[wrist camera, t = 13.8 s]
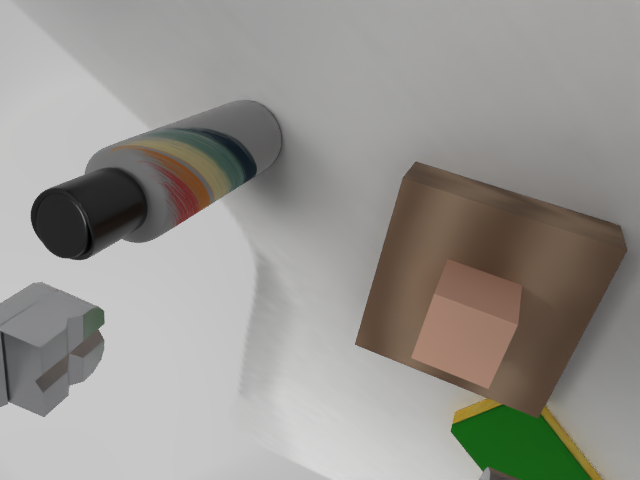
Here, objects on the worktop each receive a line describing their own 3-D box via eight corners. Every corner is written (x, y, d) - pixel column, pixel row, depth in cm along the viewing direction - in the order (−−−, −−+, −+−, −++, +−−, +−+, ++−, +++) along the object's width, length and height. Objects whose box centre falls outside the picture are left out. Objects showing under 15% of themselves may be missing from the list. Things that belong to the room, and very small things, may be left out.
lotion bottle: (223, 169, 46) (27, 276, 29) (214, 98, 43) (-5, 169, 26) (286, 172, 44) (116, 290, 27) (280, 98, 42) (90, 175, 24)
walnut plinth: (369, 318, 46) (354, 344, 43) (415, 161, 40) (402, 178, 36) (539, 384, 43) (538, 418, 40) (620, 225, 36) (627, 250, 33)
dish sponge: (547, 528, 49) (547, 552, 47) (452, 410, 47) (448, 429, 45) (627, 508, 45) (631, 533, 43) (527, 379, 44) (525, 398, 42)
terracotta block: (426, 318, 40) (411, 357, 35) (447, 258, 37) (434, 293, 33) (495, 344, 38) (488, 388, 34) (522, 285, 36) (518, 324, 32)
